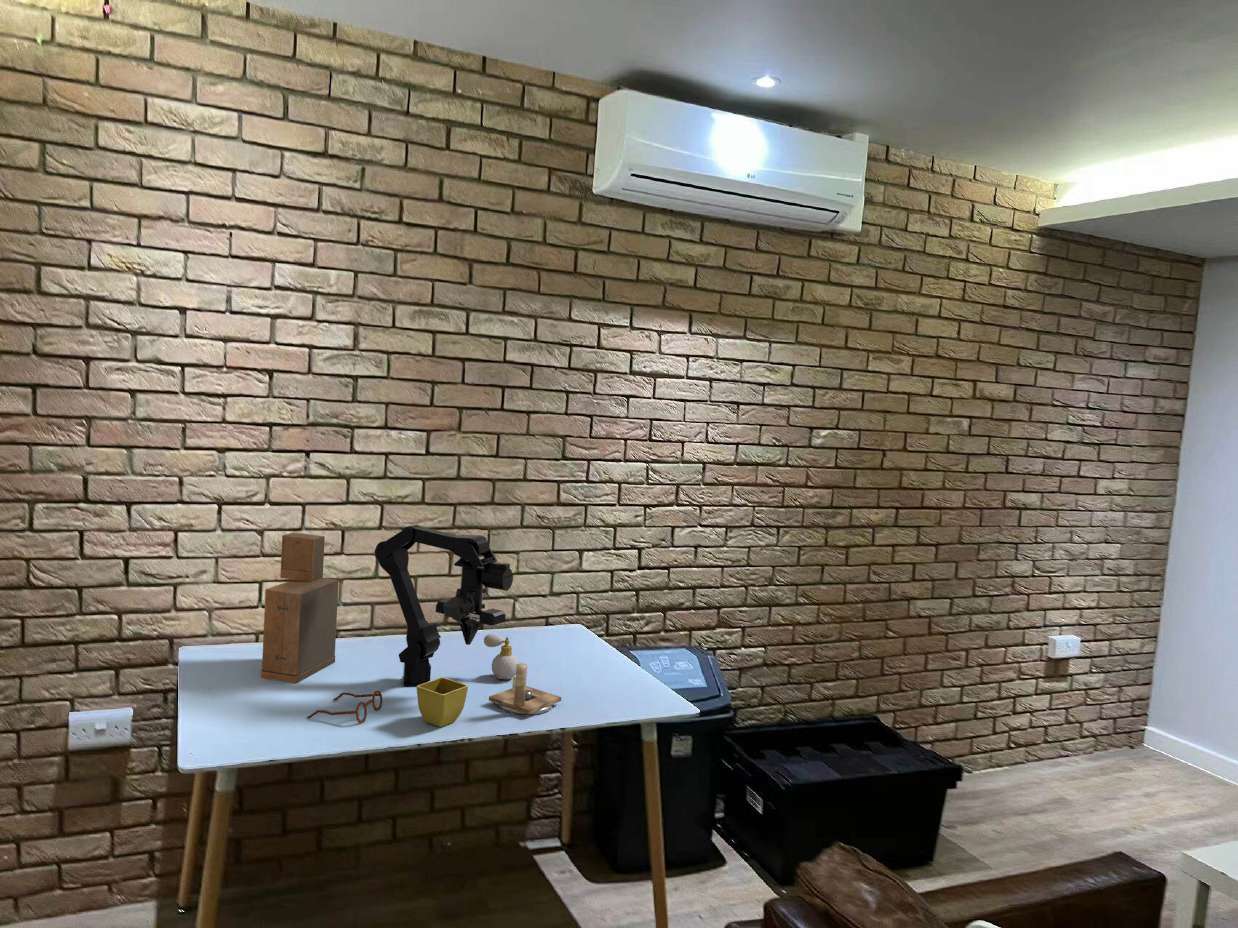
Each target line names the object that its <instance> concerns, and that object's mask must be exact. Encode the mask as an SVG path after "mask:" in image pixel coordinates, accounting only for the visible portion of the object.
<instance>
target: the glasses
mask: <svg viewBox="0 0 1238 928" xmlns="http://www.w3.org/2000/svg"><path fill="white" fill-rule="evenodd" d="M343 696H349V697H353V698H355V699H357V698H370V697H371V699H369V700H368V701H366V702H364V701H359V702H358V704H357V706H356V708H355V710H348V711H347V710H345V711H330V710H325V709H324V710H323V709H317V710H316V711H314V712H312V713H310V714H309V715H308V716H306V719H311V718H313V717H315V716H316V715H317V714H327V715H330V716H337V715H338V716H339V715H341V716H343V715H351V714H352V715H355V718H356V721H357V723H359V724H363V723H364V722H366V719H367V714H368V712H367V708H368V705H370V704H371V705H372V707H373V710H374V711H375V712H378V711H380V709H382V706H383V695H382V692H381V690H379V689H378V690H375V691H374V692H373V693H366V694H365V693H364V694H354V693H351V692H341V693H340V694H339V695H337V696H336V697H335V698H334V699H333V700H332V701H334V702H336V701H338V700H339V699H340V698H342V697H343ZM376 697H379V705H378V707H376V702H375V701H376V700H375V698H376ZM361 706H362V707H363V711H364V713H363V714H364V715H363V718H362V719H360V716H359V709H360V707H361Z"/></svg>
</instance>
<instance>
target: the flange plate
mask: <svg viewBox="0 0 1238 928" xmlns="http://www.w3.org/2000/svg"><path fill="white" fill-rule="evenodd" d="M527 673H528V664H526V663H521V662H520V663H519V664H517V667H516V675H515V677H516V681H515V687H514V688H509V689H506V690H504V691H500V692H498V693H496V694H493V695H490V696H488V701H489V702H492V703H494V704H496V705H497V704H500V705H503V706H506V707H509V708H512V709H515V710H518V711H521V712H524V713H527V714H531V713H533V712H535V711H538V710H540V709H543V708H545V707H548V706H550V705H552V704H553V705H554V704H557V703H560V702H562V697H561V696H559V695H556V694H552V693H549V692H547V691H544V690H540V689H537V688H534V687H532V686H528V685H527ZM525 690H530V691H532V696H531V700H529V701H525Z"/></svg>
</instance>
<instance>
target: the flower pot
mask: <svg viewBox="0 0 1238 928" xmlns="http://www.w3.org/2000/svg"><path fill="white" fill-rule="evenodd" d="M468 690H469V685H468V684H466V683H462V682H459V681H455V680H453V679H449V678H448V677H447V678H446V677H443V676H442V677H437V678H434V679H432V680H430V681H429V682H427V683H423V684H420V685H418V686H416V695H417V696H416V697H417V706H418V709H419V712H420V714H421V717H422V718H423V720H424V721H425V723H428V724H431V725H433V726H435V727H440V728H443V727H445V726H448V725H450V724H452V723H455V722H456V721H457V720H458V718H459V717H460V716H461V714H462V712H463V710H464V706H465V703H466V698H467V694H468Z"/></svg>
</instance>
